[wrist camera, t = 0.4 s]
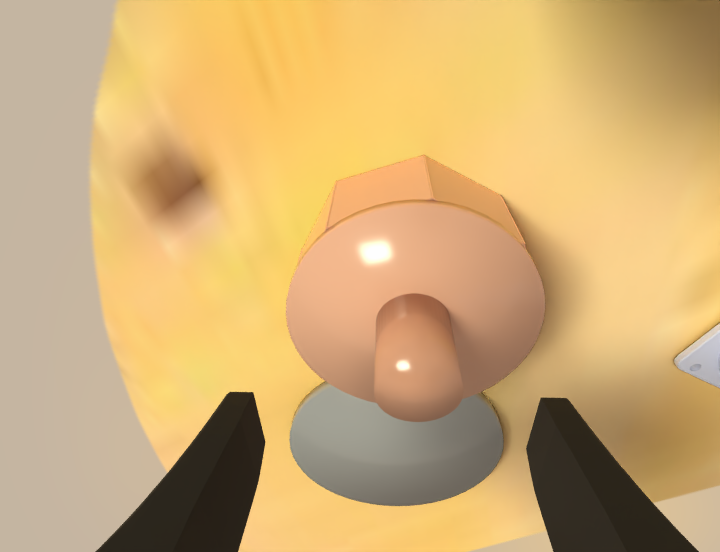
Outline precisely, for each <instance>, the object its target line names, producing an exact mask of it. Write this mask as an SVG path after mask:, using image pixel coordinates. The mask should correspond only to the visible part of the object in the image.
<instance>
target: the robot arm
mask: <svg viewBox="0 0 720 552" xmlns="http://www.w3.org/2000/svg"><path fill="white" fill-rule="evenodd" d="M674 363H675V365H676V366H677V368H679V369H680V370H682V371H684V372H686V373H688V374H690V375H693V376H695V377H697V378H699V379H701V380H703V381H705V382H707V383H710V384H712V385H714V386H716V387H718V388H720V323H719V324H718V325H716V326H715V327H714V328H712V329H711V330H710V331H709V332H707V333H706V334H705V335H703V336H702V337H701V338H700V339H698V340H697V341H696V342H694V343H693V344H692V345H691V346H689V347H688V348H687V349H685V350H684V351H683V352H681V353H680V354H679V355H678V356H677V357H676V358H675V360H674ZM264 447H265V439H264V435H263V430H262V426H261V422H260V418H259V414H258V410H257V406H256V402H255V398H254V394H253V392H229V393H228V394H227V395H226V396H225V398H224V399H223V401H222V402H221V403H220V405H219V406H218V408H217V409H216V411H215V412H214V413H213V415H212V416H211V417H210V419H209V420H208V422H207V423H206V424H205V426H204V427H203V428H202V430H201V431H200V432H199V434H198V435H197V436H196V438H195V439H194V440H193V442H192V443H191V444H190V446H189V447H188V448H187V449H186V451H185V452H184V453H183V454H182V456H181V457H180V458H179V460H178V461H177V462H176V463H175V465H174V466H173V467H172V468H171V470H170V471H169V472H168V473H167V474H166V476H165V477H164V478H163V479H162V480H161V482H160V483H159V484H158V485H157V486H156V487H155V488H154V490H153V491H152V492H151V493H150V494H149V495H148V497H147V498H146V499H145V500H144V501H143V502H142V504H141V505H140V506H139V507H138V508H137V509H136V510H135V511H134V512H133V514H132V515H131V516H130V517H129V518H128V519H127V520H126V521H125V522H124V523H123V524H122V525H121V526H120V527H119V529H118V530H117V531H116V532H115V533H114V534H113V535H112V536H111V537H110V538H109V539H108V540H107V541H106V542H105V543H104V544H103V545H102V546H101V547H100V548H99V549H98V550H97V551H96V552H238V550H239V546H240V543H241V540H242V536H243V533H244V529H245V526H246V523H247V519H248V516H249V512H250V509H251V506H252V502H253V499H254V495H255V492H256V488H257V485H258V481H259V475H260V470H261V465H262V459H263V453H264ZM526 450H527V455H528V461H529V466H530V472H531V476H532V481H533V486H534V491H535V494H536V497H537V501H538V504H539V507H540V510H541V514H542V517H543V520H544V523H545V526H546V530H547V533H548V536H549V539H550V542H551V545H552V548H553V551H554V552H699V551H698V550H697V549H696V548H695V547H694V546H692V544H691V543H690V542H689V541H688V540H687V539H686V538H685V537H684V536H683V535H682V534H681V533H680V532H679V531H678V530H677V529H676V528H675V527H674V526H673V525H672V523H671V522H670V521H669V520H668V519H667V518H666V517H665V516H664V515H663V514H662V513H661V512H660V510H659V509H658V508H657V507H656V506H655V505H654V504H653V503H652V502H651V501H650V499H649V498H648V497H647V496H646V495H645V494H644V493H643V492H642V490H641V489H640V488H639V487H638V486H637V485H636V483H635V482H634V481H633V480H632V479H631V477H630V476H629V475H628V474H627V473H626V472H625V470H624V469H623V468H622V467H621V466H620V465H619V463H618V462H617V461H616V460H615V459H614V457H613V456H612V455H611V454H610V452H609V451H608V450H607V449H606V447H605V446H604V445H603V444H602V442H601V441H600V440H599V439H598V437H597V436H596V435H595V434H594V432H593V431H592V430H591V428H590V427H589V426H588V425H587V423H586V422H585V421H584V419H583V418H582V417H581V416H580V414H579V413H578V412H577V410H576V409H575V408H574V406H573V405H572V404H571V403H570V401H569V400H568V399H567V398H541V399H540V403H539V406H538V410H537V413H536V416H535V420H534V423H533V427H532V430H531V434H530V437H529V441H528V444H527V448H526Z"/></svg>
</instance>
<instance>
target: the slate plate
mask: <svg viewBox="0 0 720 552" xmlns="http://www.w3.org/2000/svg"><path fill="white" fill-rule="evenodd" d="M503 442H504V440H503V433H502V429H501V425H500V421H499V418H498V415H497V412H496V411H495V409H494V407H493V406H492V404H491V403H490V402H489V400H488V399H487V398H486V397H485V396H484V395H483V394H482V393H481V392H479V393H477V394H475V395H472V396H470V397H467V398H464V399H462V400H461V402H460V404H459V405H458V407H457V408H456V409H455V410H454V411H452V412H451V413H449V414H448V415H446V416H444V417H442V418H439V419H436V420H432V421H427V422H409V421H404V420H400V419H397V418H394V417H392V416H390V415H388V414H387V413H385V412H384V411H383V410H382V409H381V408H380V407H379V406H378V404H377V403H374V402H369V401H366V400H363V399H360V398H357V397H354V396H352V395H350V394H347V393H345V392H343V391H341V390H339V389H337V388H336V387H334V386H332V385H331V384H329V383H328V382H326V381H325V382H323V383H322V384H320V385H319V386H317V387H316V388H314V389H313V390H312V391H311V392H310V393H309V394H308V395H307V396H306V397H305V398H304V399H303V400H302V402H301V403H300V404H299V406H298V408H297V410H296V412H295V414H294V418H293V421H292V426H291V431H290V448H291V451H292V454H293V457H294V459H295V461H296V462H297V464H298V466H299V467H300V468H301V469H302V471H303V472H304V473H305V474H306V475H307V476H308V477H309V478H310V479H312V480H313V481H315V482H316V483H317V484H319V485H320V486H322V487H324V488H325V489H327V490H329V491H331V492H333V493H335V494H338V495H340V496H343V497H346V498H349V499H352V500H356V501H360V502H364V503H370V504H377V505H386V506H411V505H421V504H427V503H433V502H437V501H441V500H445V499H448V498H451V497H454V496H456V495H459V494H461V493H463V492H465V491H467V490H469V489H471V488H472V487H474V486H476V485H477V484H478V483H480V482H481V481H483V480H484V479H485V478H486V477H487V476H488V475H489V474H490V473H491V472H492V471H493V469H494V468H495V467H496V465H497V463H498V461H499V460H500V457H501V454H502V451H503Z"/></svg>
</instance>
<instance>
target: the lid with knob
mask: <svg viewBox="0 0 720 552" xmlns="http://www.w3.org/2000/svg"><path fill="white" fill-rule="evenodd" d="M544 314H545V293H544V288H543V284H542V280H541V278H540V275H539V273H538V270H537V268H536V266H535V264H534V262H533V260H532V258H531V256H530V255H529V253H528V252H527V250H526V243H525V241H524V239H523V237H522V235H521V233H520V231H519V229H518V227H517V225H516V223H515V221H514V220H513V218H512V216H511V214H510V212H509V210H508V208H507V206H506V204H505V202H504V200H503V198H502V196H501V195H499V194H497V193H495V192H493V191H491V190H490V189H488V188H486V187H484V186H482V185H480V184H478V183H476V182H474V181H472V180H470V179H469V178H467V177H465V176H463V175H461V174H459V173H457V172H455V171H453V170H451V169H449V168H447V167H446V166H444V165H442V164H440V163H438V162H436V161H434V160H432V159H430V158H428V157H426V156H425V155H423V156H419V157H416V158H413V159H409V160H406V161H403V162H399V163H396V164H393V165H389V166H386V167H383V168H379V169H376V170H373V171H369V172H366V173H363V174H359V175H356V176H353V177H349V178H346V179H343V180H339V181H336V182H335V185H334V187H333V189H332V191H331V193H330V195H329V197H328V199H327V201H326V203H325V205H324V207H323V209H322V211H321V213H320V215H319V217H318V219H317V221H316V223H315V225H314V227H313V229H312V231H311V233H310V235H309V237H308V239H307V241H306V243H305V245H304V247H303V248H302V250H301V254H300V257H299V260H298V264H297V267H296V270H295V272H294V274H293V277H292V280H291V284H290V287H289V292H288V296H287V303H286V317H287V326H288V329H289V333H290V336H291V339H292V341H293V343H294V345H295V348H296V349H297V351H298V353H299V354H300V356H301V357H302V359H303V360H304V361H305V362H306V363H307V365H308V366H309V367H310V368H311V369H312V370H313V371H314V372H315V373H316V374H317V375H319V376H320V377H321V378H322V379H323V380H325V381H326V382H328V383H329V384H331V385H332V386H334V387H336V388H337V389H339V390H341V391H343V392H345V393H347V394H350V395H352V396H354V397H357V398H360V399H363V400H366V401H369V402H374V403H377V404H378V406H379V407H380V408H381V409H382V410H383V411H384V412H385V413H387V414H388V415H390V416H392V417H394V418H397V419H400V420H404V421H409V422H427V421H432V420H436V419H439V418H442V417H444V416H446V415H448V414H449V413H451V412H452V411H454V410H455V409H456V408H457V407H458V405H459V404H460V402H461V400H462V399H464V398H467V397H470V396H472V395H475V394H477V393H479V392H482V391H484V390H486V389H487V388H489V387H491V386H493V385H495V384H496V383H498V382H499V381H500V380H502V379H503V378H505V377H506V376H507V375H509V374H510V373H511V372H512V371H513V370H514V369H515V368H517V367H518V365H519V364H520V363H521V362H522V361H523V360H524V359H525V358H526V356H527V355H528V353H529V352H530V351H531V349H532V348H533V346H534V344H535V342H536V340H537V338H538V336H539V334H540V331H541V328H542V325H543V321H544Z"/></svg>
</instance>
